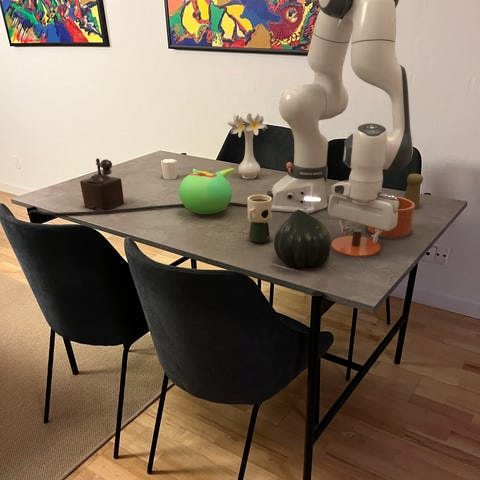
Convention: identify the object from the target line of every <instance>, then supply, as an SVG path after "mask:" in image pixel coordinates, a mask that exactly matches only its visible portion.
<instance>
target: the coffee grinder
mask: <svg viewBox="0 0 480 480" xmlns="http://www.w3.org/2000/svg"><path fill="white" fill-rule="evenodd" d="M95 162H96V163H95V165H96V166H97V168H96V169H97V173H94V174H93V175H91V176H90V177H89V178H85V179H82V180H80V181H79V183H80V189H81V194H82V200H83V207H84V208H87V209H90V210H93V211H102V210H114V209H117V208H118V207H121V206H123V205H124V204H125V200H124V199H125V198H124V191H123V183H122V178H120V177H114V176H110V175H111V174H112V169H111V168H112V167H113V162H112V161H111V160H109V159H108V158H107V159H106V158H105V159H102V160H101V161H100V158H98V157H97V158H96V159H95ZM101 169H102V170H101Z"/></svg>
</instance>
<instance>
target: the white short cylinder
mask: <svg viewBox="0 0 480 480" xmlns="http://www.w3.org/2000/svg"><path fill="white" fill-rule="evenodd" d="M160 165H161V172H162V176H163V179H164V180H169V181H170V180H175V179H177V178H178V160H177V159H176V158H165V159H161V160H160Z"/></svg>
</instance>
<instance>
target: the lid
mask: <svg viewBox="0 0 480 480" xmlns="http://www.w3.org/2000/svg"><path fill="white" fill-rule="evenodd" d="M362 232H363V230H362V229H361V228H354V229H353V230H352V235H344V236H340V237H336V238H334V239H333V240H332V241H331V242H330V248H332V250H333V251H335V252H336V253H338V254H340V255H343V256H347V257H352V258H353V257H354V258H365V257H372V256H375V255H376V254H379V252H380V250H381V244H380V243H379V242H378V241H377V242H376V243H374V242H370V237H366V236H362V235H363V233H362Z"/></svg>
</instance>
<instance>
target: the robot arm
mask: <svg viewBox="0 0 480 480" xmlns="http://www.w3.org/2000/svg"><path fill="white" fill-rule="evenodd" d="M399 1H400V0H317V3H318V6H319V8H320V9H319V11H318V15H317V18H316V21H315V24H314V28H313V32H312V36H311V40H310V45H309V48H308V53H307V55H306V56H307V58H306V62H307V64H308V66H309V68H310V69H311V70H312V71H313V80H312V83H311V84H301V85H295V86H292V87H291V88H288V89H286V90H285V91H283V92H282V94H281V95H280V97H279V100H278V111H279V114H280V117H281V119H282V120H283V121H284V122H286V123H287V125H288V127H289V128H290V130H291V133H292V137H293V144H294V146H293V147H294V149H293V150H294V151H293V152H294V153H293V163H292V162H291V161H289V162H287V163H286V169H287V174H286V175H285V176H284V177H283V178H281V179H279V180H278V181H277V182H275V183H274V184H273V186H272V189H271V190H267V191H266V193H267V194H266V195H267V196H270V197H271V198H272V208H271V211H276V212H287V213H288V212H289V213H294V212H295V211H297V210H298V209H299V210H301V211H304V212H306V213H307V214H313V213H314V212H316V211H321V210H325V208H327V213H328V215H329V216H330V217H333V218H337V219H338V224H339V226H340V229H341V230H340V233H341V234H343V235H348V234H349V233H350V232H349V231H350V227H349V226H347V223H346V221H347V222H348V221H349V222H352V223H356V224H360V225H362V226H367V227H368V226H370V227H374V228H375V231H377V232H376V233H375V234H373V233H372V234H371V235H370V237H369V239H370V242H374V243H376V242H377V243H378V241H379V235H380V233H381V232H382V231H383V230H385V231H390V230H392V229H393V228H395V227H396V225H397V218H398V208H399V201H398V199H397V198H395V197H396V196H395V195H393V194H388V193H385V192H382V188H383V181H384V173H383V172H384V171H383V170H385V171H393V172H399V171H401V170H403V169H404V168H405V167H406V166H408V165H409V164H410V163H411V161H412V158H413V153H414V147H413V140H412V139H413V137H412V131H411V130H412V129H411V117H410V116H411V115H410V97H409V85H408V77H407V72H406V68H405V67H404V66H403V65H402V64H400V63H399V60H398V58H397V54H396V37H397V10H396V8H397V7H398V5H399ZM349 45H350V66H351V69H352V71H353V73H354V74H355V76H356V77H357V78H358V79H359V80H361V81H362V82H364V83H366V84H369V85H371V86H373V87H376V88H378V89H380V90H382V91H383V92H385V93H386V94H387V95H388V96H389V99H390V101H391V113H392V115H391V116H392V131H389V132H388V131H387V129H386V128H387V127H385V126H384V125H382V124H378V123H374V122H373V123H372V122H370V123H362V124H360V125H358V127H356V130H355V132H354V133H351V134H350V135H349V136H348V137H346V139H345V140H344V149H343V155H342V162H343V164H344V165H346V166H347V168H349V169H351V170H350V173H349V177H348V179H346V180H342V181H340V182H337V183H335V184H332V185H331V192H332V193H331V194H330V195H329V199H328V198H327V187H326V185H327V184H326V182H327V180H328V170H329V168H328V164H327V163H328V149H329V141H328V139H327V137H326V136H325V135H324V134H323V133H321V131H320V127H319V126H320V125H319V122H320V121H324V120H330V119H333V118H336V117H337V116H339V115H341V114H343V113H345V111H346V109H347V107H348V105H349V94H348V91H347V88H346V87H345V85H344V81H343V70H344V64H345V61H346V56H347V52H348V48H349ZM394 199H395V200H394ZM228 206H235V207H237V206H238V207H242V208H243V207H244V208H248V203H240V202H233V201H230V203H229V204H228ZM184 207H185V206H184V205H183V203H174V204H173V203H172V204H161V205H151V206H150V205H149V206H139V207H128V208H118V209H117V208H114V209H111V210H102V211H100V210H89V211H88V210H87V211H66V212H64V211H63V212H46V211H42V210H38V209H31V210H29V211H28V212H27V214H26V216H31V215H32V214H34V213H35V214H39V215H41V216H49V217H51V216H54V217H55V216H83V215H84V216H85V215H98V214H99V215H100V214H111V213H124V212H133V211H145V210H146V211H147V210H158V209H169V208H184ZM185 208H186V207H185Z"/></svg>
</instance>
